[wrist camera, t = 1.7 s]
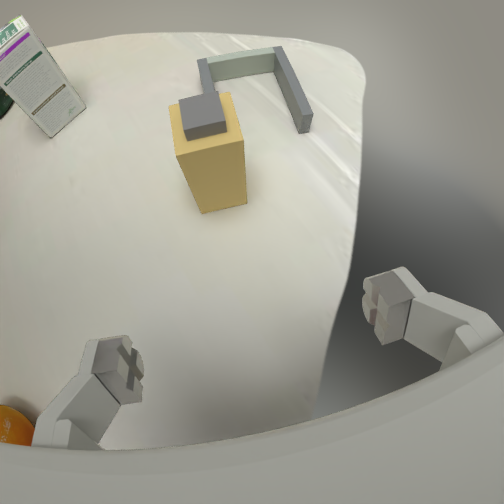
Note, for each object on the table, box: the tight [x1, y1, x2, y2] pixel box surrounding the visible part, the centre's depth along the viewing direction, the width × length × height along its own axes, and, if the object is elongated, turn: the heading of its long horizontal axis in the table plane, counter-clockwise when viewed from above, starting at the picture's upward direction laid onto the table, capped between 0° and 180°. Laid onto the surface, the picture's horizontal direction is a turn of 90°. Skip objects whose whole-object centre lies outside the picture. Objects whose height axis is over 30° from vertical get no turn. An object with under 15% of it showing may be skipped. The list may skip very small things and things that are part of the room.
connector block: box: [169, 91, 247, 214], centre depth 22 cm, size 4×4×11 cm
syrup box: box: [0, 15, 86, 137], centre depth 23 cm, size 6×6×14 cm
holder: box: [197, 46, 313, 134], centre depth 28 cm, size 9×10×3 cm
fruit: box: [0, 405, 35, 446], centre depth 18 cm, size 8×9×8 cm
